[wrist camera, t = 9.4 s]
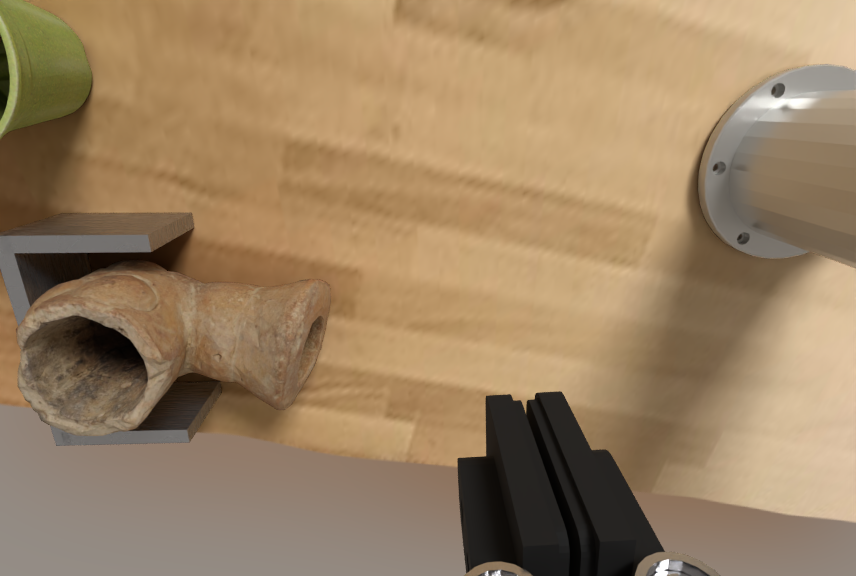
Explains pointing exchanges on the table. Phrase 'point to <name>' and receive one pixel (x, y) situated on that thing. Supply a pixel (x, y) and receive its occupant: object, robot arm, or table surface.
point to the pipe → (162, 342)
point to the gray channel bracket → (67, 260)
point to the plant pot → (38, 67)
